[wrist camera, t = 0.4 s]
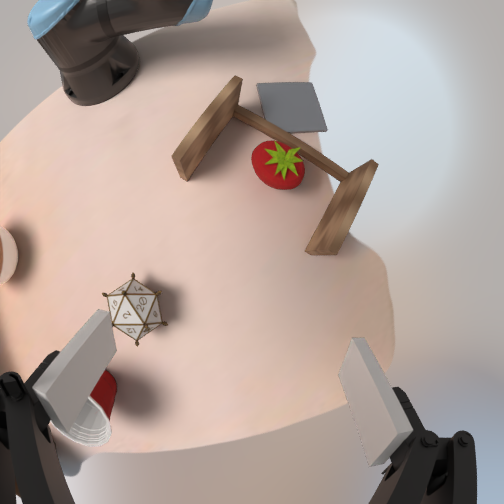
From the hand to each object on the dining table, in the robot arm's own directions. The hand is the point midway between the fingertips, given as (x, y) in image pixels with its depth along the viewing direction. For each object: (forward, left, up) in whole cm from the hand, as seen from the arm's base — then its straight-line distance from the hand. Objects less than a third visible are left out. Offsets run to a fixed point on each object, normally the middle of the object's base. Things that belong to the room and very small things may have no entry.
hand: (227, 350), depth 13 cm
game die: (0, -12, -25) cm, 28 cm away
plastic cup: (+12, -23, -25) cm, 36 cm away
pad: (-27, +17, -25) cm, 40 cm away
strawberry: (-15, +10, -25) cm, 31 cm away
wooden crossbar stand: (-15, +10, -25) cm, 31 cm away
